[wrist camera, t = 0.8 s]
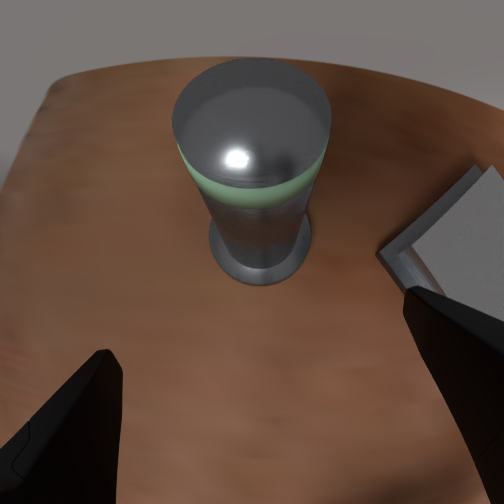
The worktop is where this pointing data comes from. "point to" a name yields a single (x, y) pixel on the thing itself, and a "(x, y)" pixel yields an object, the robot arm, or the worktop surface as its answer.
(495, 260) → the metal stand
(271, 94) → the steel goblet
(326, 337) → the worktop surface
